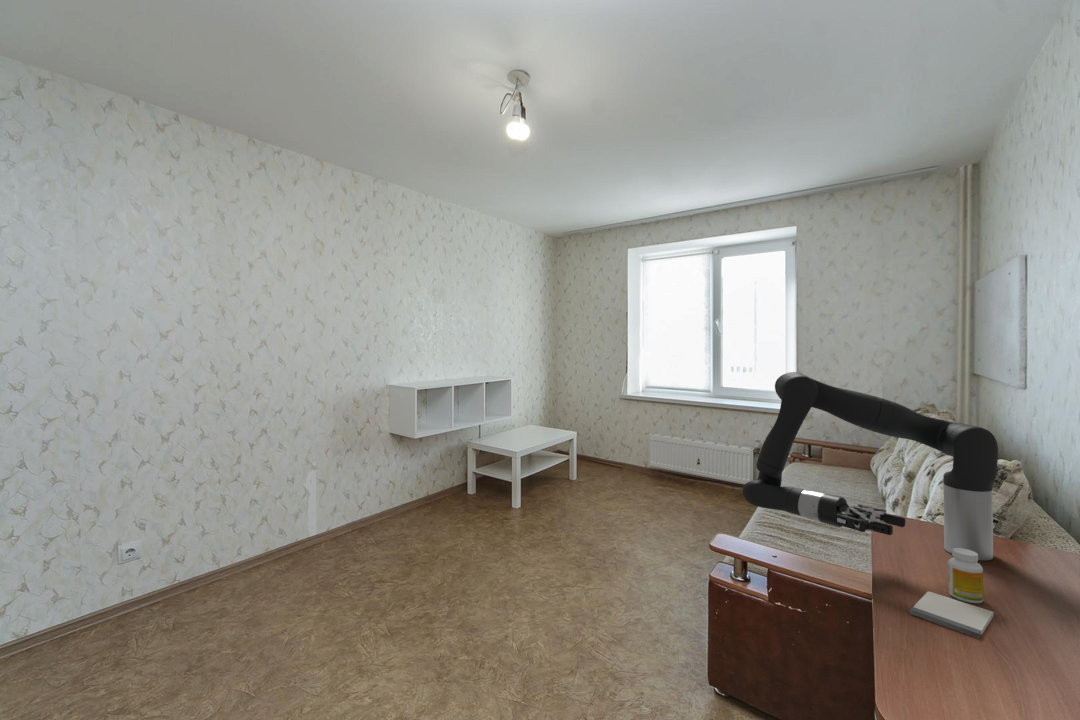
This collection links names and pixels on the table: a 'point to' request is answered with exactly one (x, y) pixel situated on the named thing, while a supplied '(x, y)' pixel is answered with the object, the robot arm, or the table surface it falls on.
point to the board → (952, 614)
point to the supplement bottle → (965, 576)
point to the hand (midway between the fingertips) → (898, 526)
